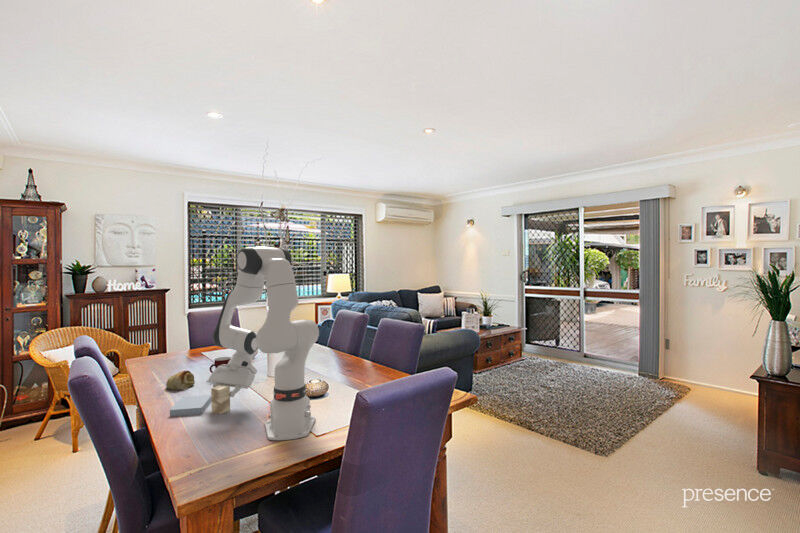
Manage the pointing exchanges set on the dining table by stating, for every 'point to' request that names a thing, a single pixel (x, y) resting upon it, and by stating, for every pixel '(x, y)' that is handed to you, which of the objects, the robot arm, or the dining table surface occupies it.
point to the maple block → (220, 399)
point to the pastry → (181, 381)
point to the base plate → (190, 405)
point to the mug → (220, 362)
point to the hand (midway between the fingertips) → (221, 395)
